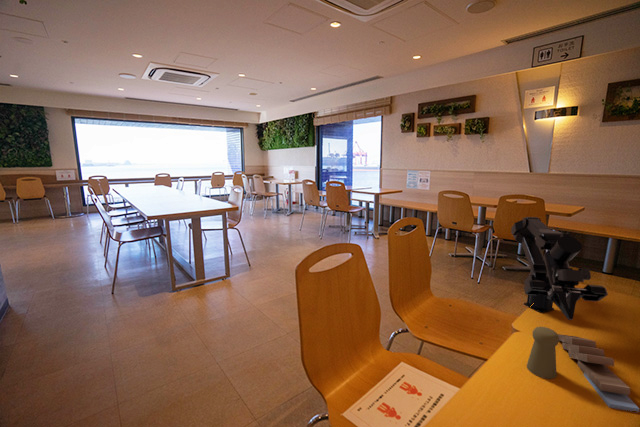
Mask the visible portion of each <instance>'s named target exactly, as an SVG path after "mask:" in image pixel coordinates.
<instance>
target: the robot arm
mask: <svg viewBox="0 0 640 427" xmlns="http://www.w3.org/2000/svg"><path fill="white" fill-rule="evenodd" d="M510 232H511V235H512V237H513V238H514V240H515V241H516V242H517V243H520V244H521V246H522V248H523V252H524V254H525V257H526V260H527V263H528V265H529V268H530V271H529V274H528V276H527V277H526V278H525V279H524V281H523V282H524V285H523V286H524V288H523V290H524V294H525V295H526V296H527V299H526V302H524V303H523V305H524V306H525V307H528V308H530V306H531V305H532V304H533V303H534V304H533V305H532V306H531V308H530V309H532V310H534V311H537V312H539V313H547V312H549V311H553V310H555V308H554V307H553V305H554V304H555V306H556V307H557V308H558V309H559V310H560V311H561V312H562V314H563V315H564V316H565V317H566V319H567V320H570V321H572V320H573V319H574V315H575V310H576V305H577V302H578V301H579V300H581V299H582V300H584V301H588V302H600V301H601V300H603V299H605V298H606V297H607V296H609V294H608V290H607V288H606V287H605V286H603V285H596V284H586V285H585V286H584V287H583V288H582V287H581V288H580V287H577V286H579V285H580V283H584V282H585V281H590V280H591V279H592V277H591V276H592V275H591V271H590V268H586V267H581V268H577V269H578V270H577V269H573V268H572V267H570V264H569V262H570V261H572V260H573V259H574V258H575V257H576V255H578V254H579V253H580V252H581V251H582V248H583V245H582V243H581V242H580V240H578V239H577V238H575V237H573V236H571V233H568V232H560V231H559V230H558V231H557V230H552V229H551V228H549V227H548V225H546V224H545V223H544V222H542V219H541V218H540V217H537V216H536V217H535V216H526V217H523V218H522V219H520V220H518V221H516V222H514V223H513V224H512V226H511V230H510ZM541 250H543V251H546V252H545V253H544V254H542V252H541Z"/></svg>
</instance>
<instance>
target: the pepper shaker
mask: <svg viewBox="0 0 640 427" xmlns="http://www.w3.org/2000/svg"><path fill="white" fill-rule="evenodd" d="M558 334H559V333H557V332H556V331H555V330H554V329H551V328H550V327H546V326H536V327H535V328H533V331H532V338H533V344H532V347H531V350H530V354H529V357H528V360H527V363H526V368H527V370H528V371H529V372H530V373H531V374H533V375H534V376H537V377H538V378H542V379H544V380H545V379H546V380H554V379H556V378H557V376H558V375H557V374H558V373H557V353H556V351H557V350H556V347H557V346H558V344H559V343H560V341H559V336H558Z"/></svg>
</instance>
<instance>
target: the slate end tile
mask: <svg viewBox="0 0 640 427" xmlns="http://www.w3.org/2000/svg"><path fill="white" fill-rule="evenodd" d="M583 376H584V378H585V379H586V380H587V381H588V383H589V384H590V385H591V386H592V388H593V389H594V390H595V391H596V393H597V394H598V395H599V397H600V398H601V399H602V401H603V402H604V403H605V405H607V406H608V408H609V409H611V408H612V409H616V410H621V411H627V410H628V411H627V412H632V411H637V412H636V413H638V412H639V413H640V407H638V405H637V404H636V403H635V402H634V401H633V400H632V399H631V397H629V395H624V394H619V393H613V392H607V391H601V390H600V389H599V388H598V387H597V386H596V385H595V384H594V383H593V382H592V381H591V379H590V378H589V377H588V376H587V375H586V374H585V373H584V372H583ZM629 410H630V411H629Z"/></svg>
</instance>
